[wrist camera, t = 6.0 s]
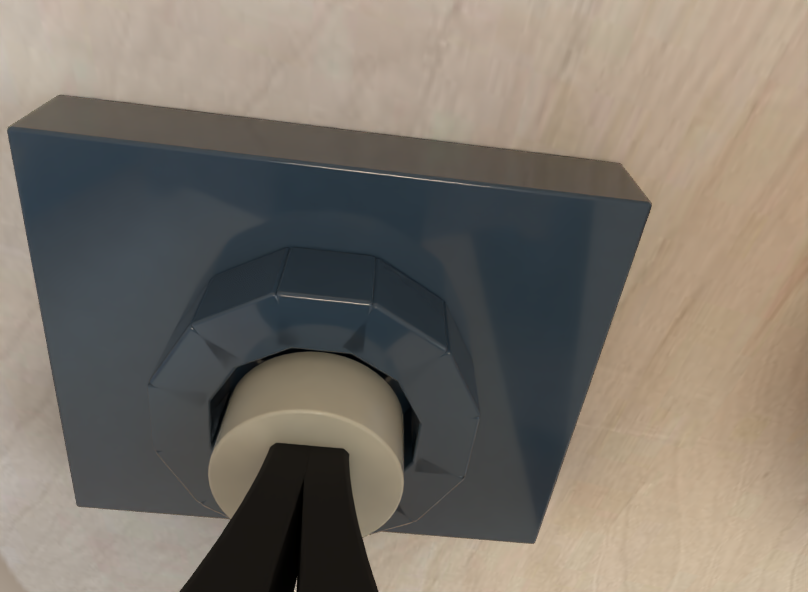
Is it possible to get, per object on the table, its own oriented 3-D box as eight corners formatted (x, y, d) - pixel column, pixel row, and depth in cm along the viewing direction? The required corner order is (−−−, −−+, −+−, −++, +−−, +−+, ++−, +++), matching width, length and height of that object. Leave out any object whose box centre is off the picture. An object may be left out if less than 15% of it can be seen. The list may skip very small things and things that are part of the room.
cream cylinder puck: (228, 474, 15) (209, 541, 13) (227, 341, 13) (203, 401, 11) (393, 488, 15) (391, 556, 14) (414, 359, 13) (416, 421, 12)
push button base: (107, 446, 19) (44, 569, 16) (57, 92, 14) (-55, 163, 11) (522, 482, 20) (547, 607, 17) (622, 162, 15) (688, 247, 11)
